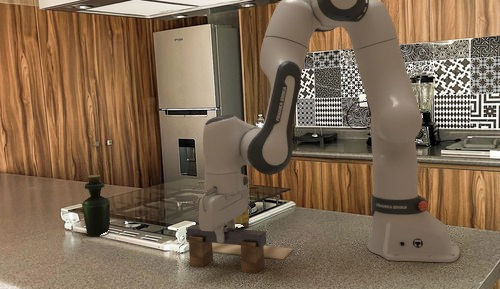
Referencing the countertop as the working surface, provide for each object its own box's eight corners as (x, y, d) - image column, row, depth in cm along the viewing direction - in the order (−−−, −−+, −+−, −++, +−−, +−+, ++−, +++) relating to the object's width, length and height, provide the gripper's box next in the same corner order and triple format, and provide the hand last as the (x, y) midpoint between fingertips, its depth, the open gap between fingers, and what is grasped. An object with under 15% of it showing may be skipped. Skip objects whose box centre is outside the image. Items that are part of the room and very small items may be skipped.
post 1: (213, 259, 129) (211, 232, 128) (202, 267, 124) (201, 238, 123) (200, 258, 130) (199, 231, 129) (190, 265, 125) (188, 237, 124)
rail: (266, 243, 121) (265, 231, 121) (261, 247, 118) (261, 235, 118) (192, 236, 129) (192, 225, 129) (186, 240, 126) (186, 228, 126)
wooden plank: (293, 250, 134) (293, 248, 134) (283, 260, 126) (283, 258, 126) (212, 242, 143) (212, 240, 143) (198, 251, 136) (198, 249, 136)
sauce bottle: (247, 229, 154) (244, 165, 152) (227, 229, 155) (224, 165, 153) (251, 223, 160) (248, 161, 158) (232, 223, 162) (229, 161, 159)
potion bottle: (84, 239, 151) (79, 179, 148) (84, 231, 158) (79, 175, 156) (112, 235, 153) (108, 176, 151) (111, 228, 161) (107, 172, 159)
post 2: (264, 265, 123) (263, 236, 122) (255, 273, 118) (254, 243, 118) (250, 264, 125) (249, 235, 124) (241, 271, 120) (240, 242, 119)
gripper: (215, 192, 111) (218, 254, 113) (251, 175, 130) (253, 228, 131) (190, 191, 114) (193, 251, 115) (229, 175, 132) (231, 226, 134)
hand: (225, 238), depth 124 cm, fingers open, 3 cm apart
